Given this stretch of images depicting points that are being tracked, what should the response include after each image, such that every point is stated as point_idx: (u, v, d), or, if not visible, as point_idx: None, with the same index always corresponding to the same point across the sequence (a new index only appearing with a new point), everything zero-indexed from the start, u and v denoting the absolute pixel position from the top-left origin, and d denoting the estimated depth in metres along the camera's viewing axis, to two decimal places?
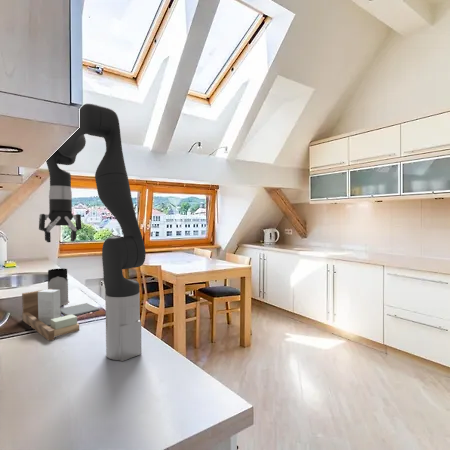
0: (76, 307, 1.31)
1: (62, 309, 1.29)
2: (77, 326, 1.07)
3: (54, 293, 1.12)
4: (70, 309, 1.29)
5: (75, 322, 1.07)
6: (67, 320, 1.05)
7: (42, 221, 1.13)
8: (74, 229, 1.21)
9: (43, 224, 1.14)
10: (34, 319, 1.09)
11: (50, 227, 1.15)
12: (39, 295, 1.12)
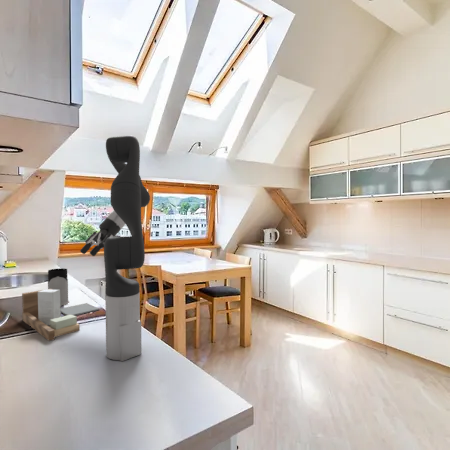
0: (76, 307, 1.31)
1: (62, 309, 1.29)
2: (77, 326, 1.07)
3: (54, 293, 1.12)
4: (70, 309, 1.29)
5: (75, 322, 1.08)
6: (67, 320, 1.05)
7: (90, 236, 1.31)
8: (97, 243, 1.22)
9: (88, 238, 1.30)
10: (34, 319, 1.09)
11: (89, 240, 1.28)
12: (39, 295, 1.12)
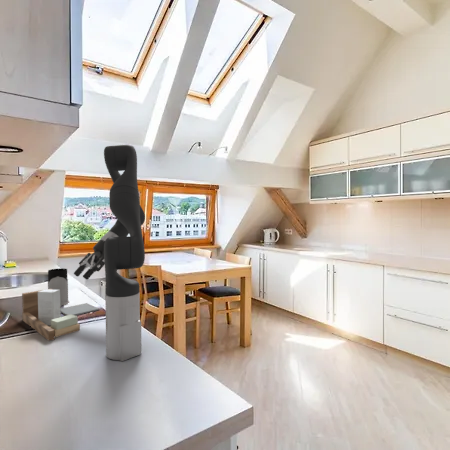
0: (76, 307, 1.31)
1: (62, 309, 1.29)
2: (78, 326, 1.07)
3: (54, 293, 1.12)
4: (70, 309, 1.29)
5: (76, 322, 1.07)
6: (68, 320, 1.05)
7: (84, 257, 1.29)
8: (91, 266, 1.20)
9: (82, 259, 1.29)
10: (34, 319, 1.09)
11: (83, 263, 1.26)
12: (39, 295, 1.12)
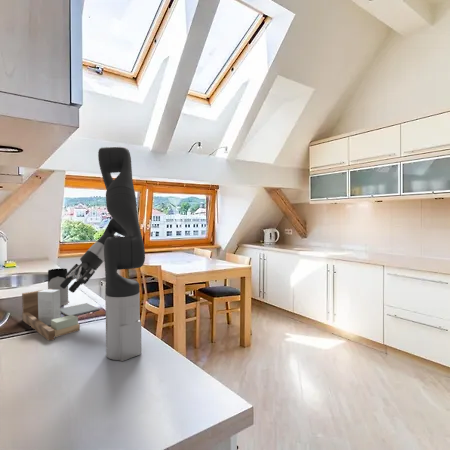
0: (76, 307, 1.31)
1: (62, 309, 1.29)
2: (77, 326, 1.07)
3: (54, 293, 1.12)
4: (70, 309, 1.29)
5: (76, 322, 1.07)
6: (68, 320, 1.05)
7: (71, 269, 1.26)
8: (77, 279, 1.17)
9: (69, 271, 1.25)
10: (34, 319, 1.09)
11: (69, 274, 1.23)
12: (39, 295, 1.12)
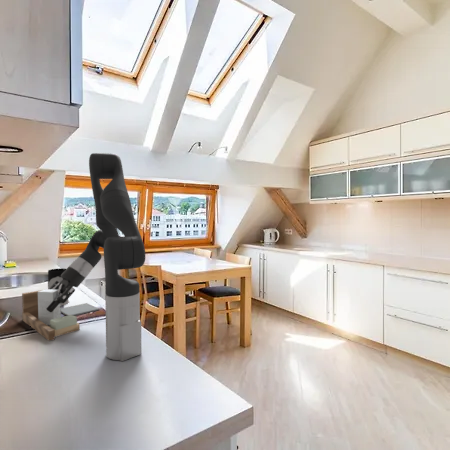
0: (76, 307, 1.31)
1: (62, 309, 1.29)
2: (77, 326, 1.07)
3: (54, 293, 1.12)
4: (70, 309, 1.29)
5: (75, 322, 1.07)
6: (67, 320, 1.05)
7: (51, 286, 1.20)
8: (55, 298, 1.12)
9: (50, 288, 1.20)
10: (34, 319, 1.09)
11: None
12: (39, 295, 1.12)
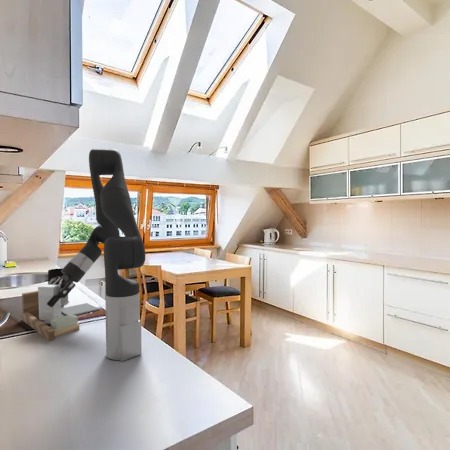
0: (76, 307, 1.31)
1: (62, 309, 1.29)
2: (77, 325, 1.08)
3: (54, 288, 1.12)
4: (70, 309, 1.29)
5: (75, 322, 1.08)
6: (68, 320, 1.05)
7: (52, 281, 1.20)
8: (56, 293, 1.12)
9: (50, 284, 1.19)
10: (34, 319, 1.09)
11: None
12: (39, 290, 1.12)
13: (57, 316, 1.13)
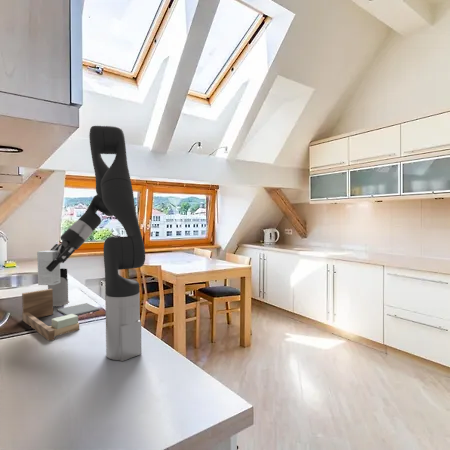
0: (76, 307, 1.31)
1: (62, 309, 1.29)
2: (77, 325, 1.08)
3: (54, 253, 1.12)
4: (70, 309, 1.29)
5: (76, 321, 1.08)
6: (68, 319, 1.06)
7: (51, 249, 1.20)
8: (55, 258, 1.11)
9: None
10: (34, 319, 1.09)
11: None
12: (38, 255, 1.12)
13: (56, 281, 1.13)
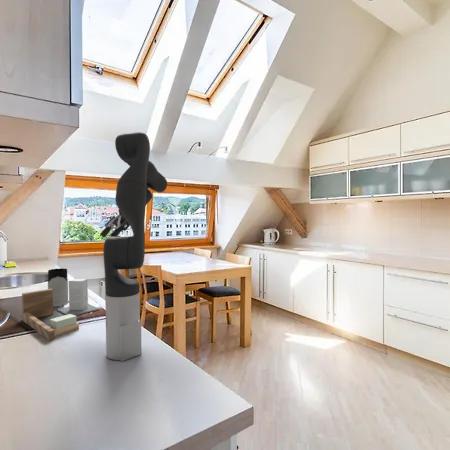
0: None
1: (62, 309, 1.29)
2: (77, 325, 1.08)
3: (83, 282, 1.28)
4: None
5: (75, 321, 1.08)
6: (67, 319, 1.06)
7: (109, 220, 1.33)
8: (118, 226, 1.24)
9: (108, 222, 1.32)
10: (34, 319, 1.09)
11: (109, 224, 1.30)
12: (70, 283, 1.28)
13: (85, 306, 1.29)
